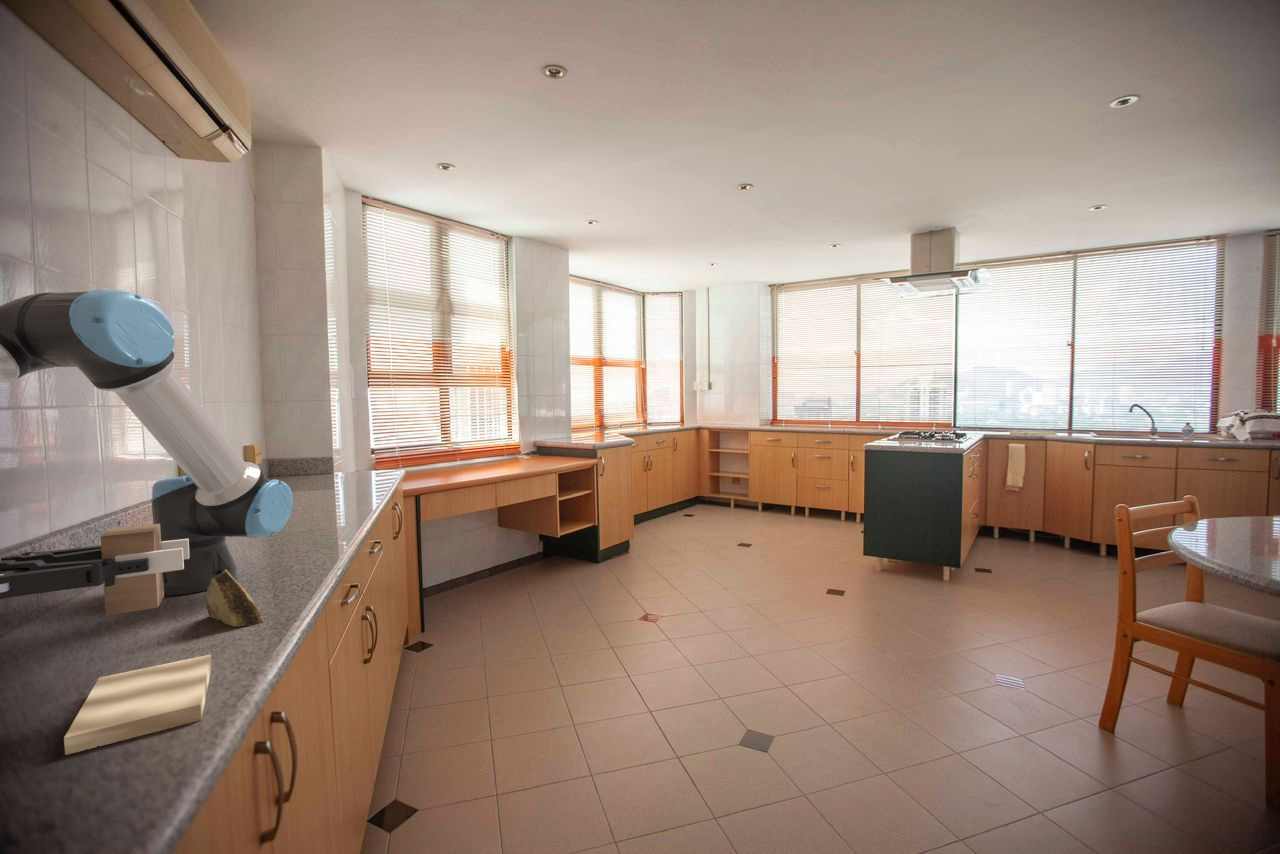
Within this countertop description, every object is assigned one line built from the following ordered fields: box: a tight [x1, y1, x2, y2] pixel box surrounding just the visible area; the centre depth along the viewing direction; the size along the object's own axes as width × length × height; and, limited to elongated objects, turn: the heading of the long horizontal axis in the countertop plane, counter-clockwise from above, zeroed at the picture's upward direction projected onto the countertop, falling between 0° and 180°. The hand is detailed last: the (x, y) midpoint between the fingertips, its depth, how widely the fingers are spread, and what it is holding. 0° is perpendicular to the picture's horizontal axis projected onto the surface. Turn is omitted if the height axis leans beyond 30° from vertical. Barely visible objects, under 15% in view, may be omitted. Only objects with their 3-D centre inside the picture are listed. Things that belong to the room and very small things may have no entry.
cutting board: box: [63, 653, 213, 756], centre depth 73 cm, size 16×12×2 cm
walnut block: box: [100, 523, 165, 616], centre depth 74 cm, size 5×5×10 cm
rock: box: [205, 569, 265, 628], centre depth 101 cm, size 11×9×10 cm
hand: (185, 553), depth 76 cm, fingers closed on walnut block, 5 cm apart
